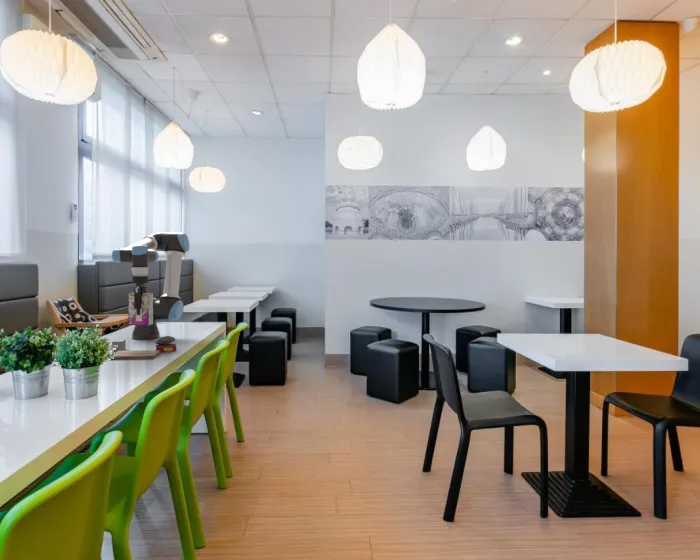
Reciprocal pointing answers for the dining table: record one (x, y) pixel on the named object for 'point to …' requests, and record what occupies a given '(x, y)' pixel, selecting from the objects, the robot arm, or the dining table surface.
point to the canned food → (164, 346)
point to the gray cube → (120, 344)
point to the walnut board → (136, 354)
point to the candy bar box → (146, 309)
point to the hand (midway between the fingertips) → (140, 320)
